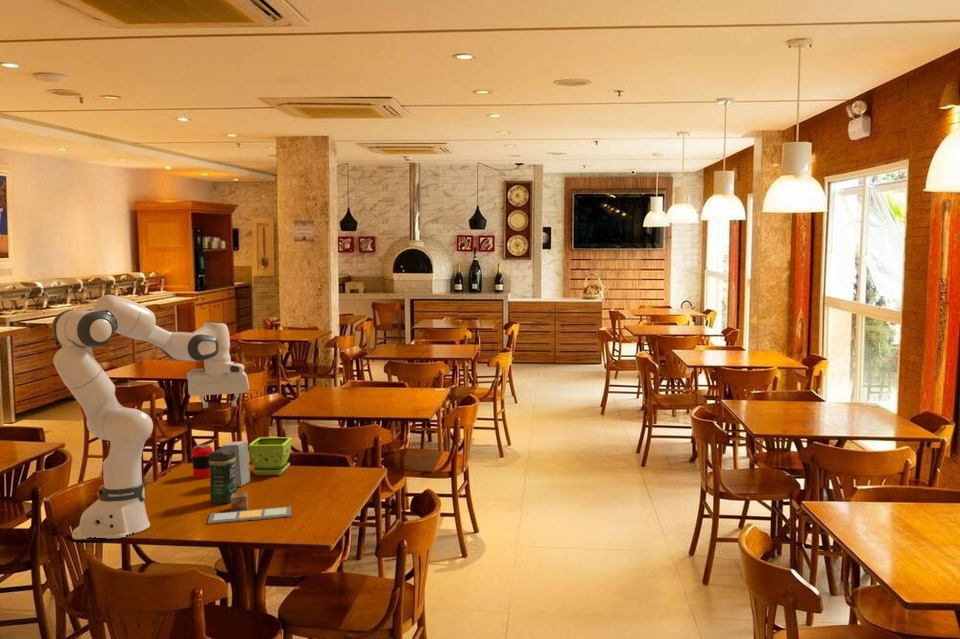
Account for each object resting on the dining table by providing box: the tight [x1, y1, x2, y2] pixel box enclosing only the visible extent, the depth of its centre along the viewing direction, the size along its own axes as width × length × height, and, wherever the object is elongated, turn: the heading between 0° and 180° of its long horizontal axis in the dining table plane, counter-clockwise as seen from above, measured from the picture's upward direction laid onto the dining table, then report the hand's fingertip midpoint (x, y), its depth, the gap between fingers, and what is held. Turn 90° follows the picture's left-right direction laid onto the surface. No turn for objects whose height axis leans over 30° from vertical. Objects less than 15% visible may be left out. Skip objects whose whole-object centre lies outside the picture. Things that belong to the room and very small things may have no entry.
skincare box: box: [222, 440, 251, 488], centre depth 315 cm, size 8×7×16 cm
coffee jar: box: [209, 446, 238, 505], centre depth 294 cm, size 10×8×19 cm
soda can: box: [191, 444, 213, 480], centre depth 328 cm, size 8×8×12 cm
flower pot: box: [248, 436, 293, 476], centre depth 331 cm, size 14×14×13 cm
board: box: [206, 505, 292, 525], centre depth 276 cm, size 26×10×1 cm, turn 102°
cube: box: [230, 491, 249, 512], centre depth 284 cm, size 5×5×5 cm
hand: (219, 407), depth 293 cm, fingers open, 8 cm apart
